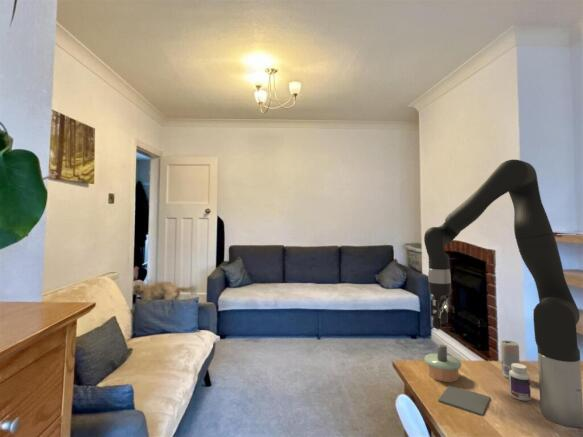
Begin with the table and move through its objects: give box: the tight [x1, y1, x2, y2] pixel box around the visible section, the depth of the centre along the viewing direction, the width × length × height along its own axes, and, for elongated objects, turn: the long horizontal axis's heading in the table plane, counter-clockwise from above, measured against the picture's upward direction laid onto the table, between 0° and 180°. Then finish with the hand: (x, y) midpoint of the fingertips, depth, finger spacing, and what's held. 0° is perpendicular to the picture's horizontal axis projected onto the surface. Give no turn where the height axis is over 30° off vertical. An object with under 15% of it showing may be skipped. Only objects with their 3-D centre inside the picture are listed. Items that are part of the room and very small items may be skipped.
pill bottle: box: [508, 363, 532, 402], centre depth 100 cm, size 5×5×10 cm
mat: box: [437, 384, 491, 417], centre depth 99 cm, size 12×12×1 cm
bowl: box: [426, 363, 460, 383], centre depth 115 cm, size 10×10×5 cm
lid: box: [424, 344, 462, 370], centre depth 115 cm, size 12×12×6 cm
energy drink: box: [500, 340, 521, 380], centre depth 113 cm, size 5×5×12 cm
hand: (440, 325), depth 116 cm, fingers open, 8 cm apart
